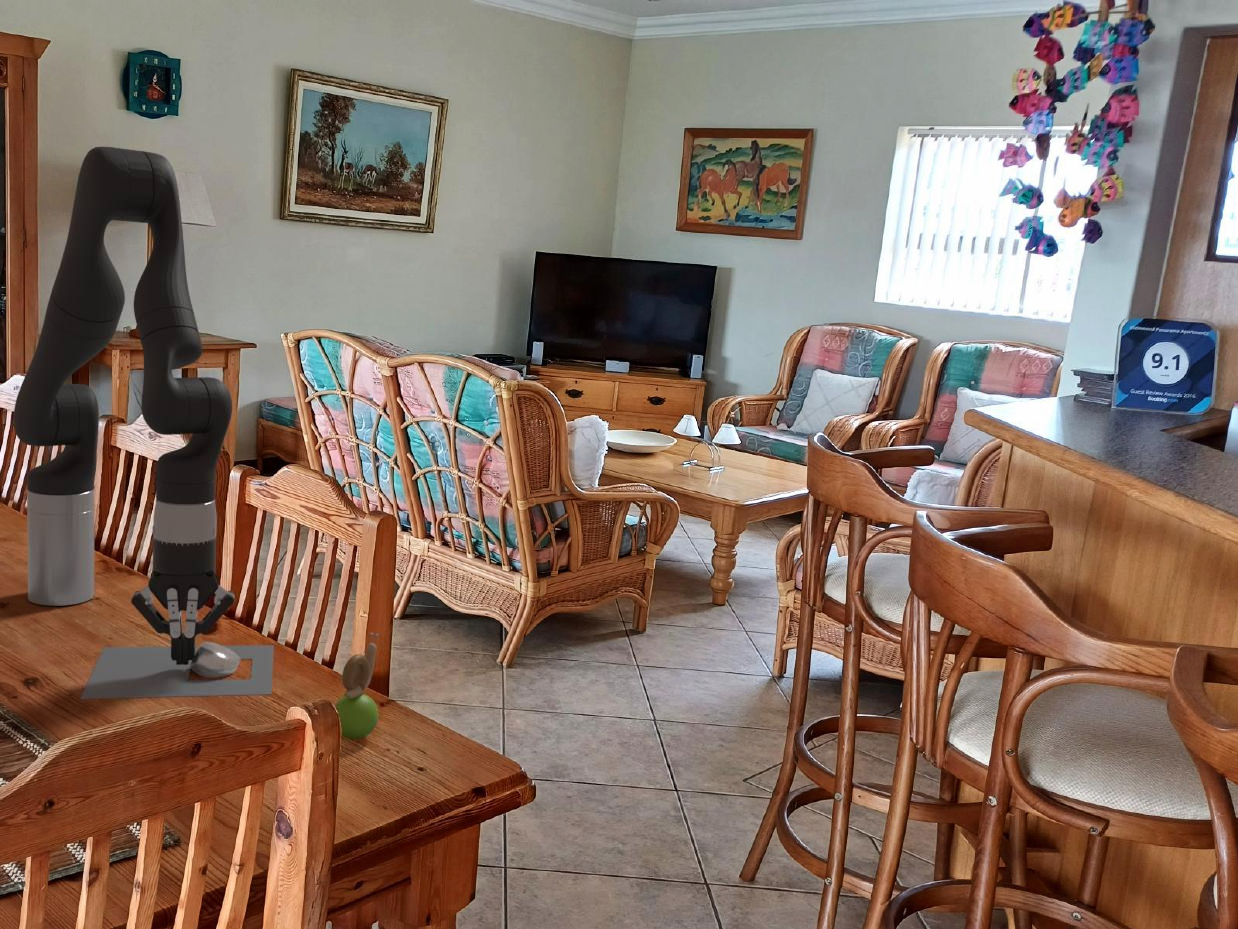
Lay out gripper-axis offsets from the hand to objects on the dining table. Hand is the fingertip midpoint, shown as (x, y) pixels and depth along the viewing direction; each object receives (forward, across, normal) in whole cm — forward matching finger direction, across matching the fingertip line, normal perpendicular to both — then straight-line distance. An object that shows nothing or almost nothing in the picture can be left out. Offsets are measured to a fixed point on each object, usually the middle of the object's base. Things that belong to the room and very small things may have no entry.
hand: (182, 662), depth 149 cm
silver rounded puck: (+1, -3, 0) cm, 4 cm away
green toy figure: (+3, -21, +19) cm, 29 cm away
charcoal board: (+2, 0, 0) cm, 3 cm away
